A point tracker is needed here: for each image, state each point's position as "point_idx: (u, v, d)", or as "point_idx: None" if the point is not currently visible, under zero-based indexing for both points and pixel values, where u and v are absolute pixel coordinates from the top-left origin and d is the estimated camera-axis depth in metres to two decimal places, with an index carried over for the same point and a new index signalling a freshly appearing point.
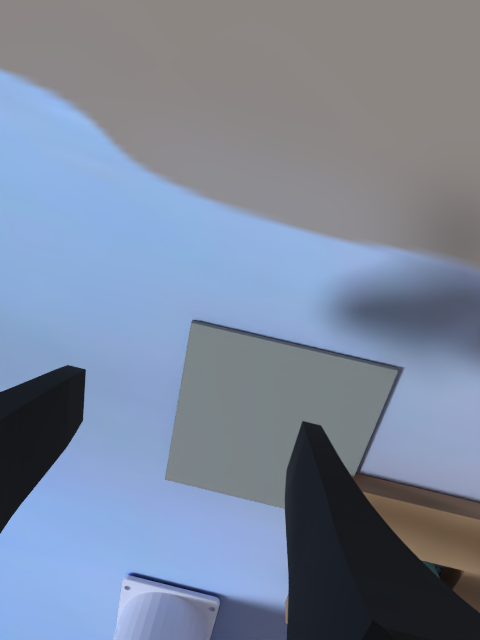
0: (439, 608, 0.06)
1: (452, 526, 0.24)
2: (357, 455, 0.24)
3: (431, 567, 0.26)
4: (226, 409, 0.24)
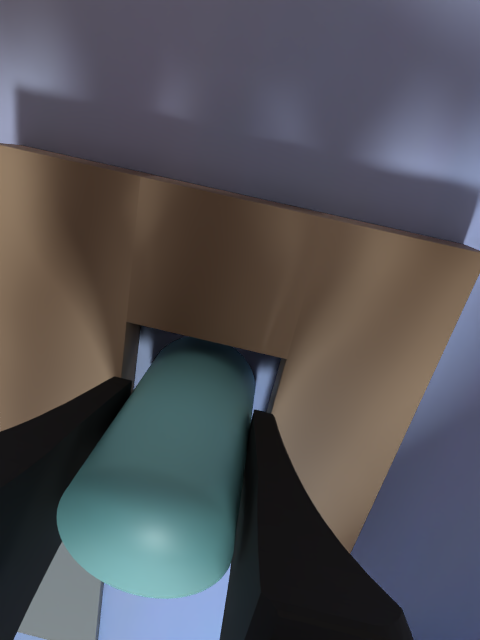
0: (340, 584, 0.06)
1: (24, 358, 0.13)
2: None
3: (147, 370, 0.13)
4: None
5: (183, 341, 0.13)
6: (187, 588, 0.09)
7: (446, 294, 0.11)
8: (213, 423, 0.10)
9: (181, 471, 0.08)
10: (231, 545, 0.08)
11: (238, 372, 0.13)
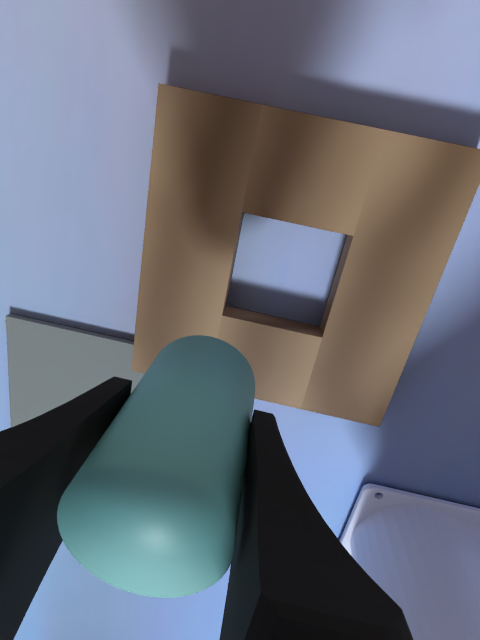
0: (340, 584, 0.06)
1: (163, 244, 0.18)
2: (110, 344, 0.22)
3: (148, 369, 0.13)
4: None
5: (184, 340, 0.13)
6: (188, 587, 0.09)
7: (464, 181, 0.16)
8: (214, 422, 0.10)
9: (181, 470, 0.08)
10: (232, 544, 0.08)
11: (239, 371, 0.13)
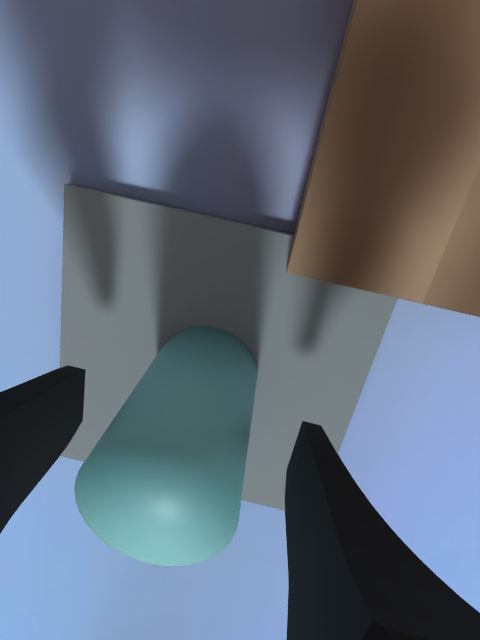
0: (439, 609, 0.06)
1: None
2: (242, 234, 0.13)
3: (156, 357, 0.14)
4: None
5: (190, 330, 0.14)
6: (194, 556, 0.10)
7: None
8: (220, 405, 0.10)
9: (192, 445, 0.09)
10: (236, 515, 0.09)
11: (242, 360, 0.13)
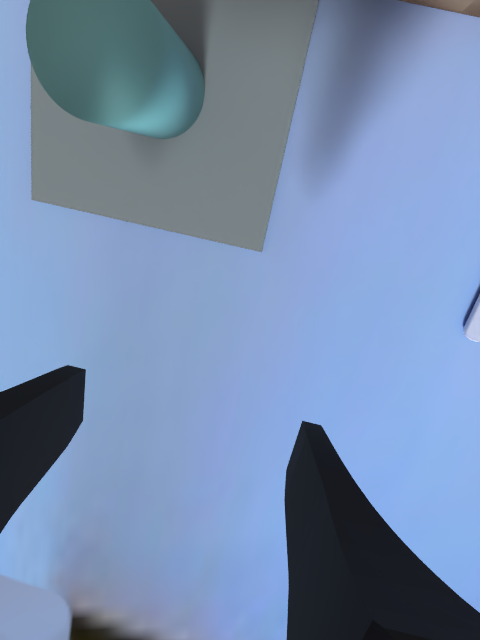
0: (440, 609, 0.06)
1: None
2: None
3: None
4: (136, 157, 0.18)
5: None
6: (127, 106, 0.11)
7: None
8: None
9: None
10: (158, 43, 0.11)
11: (186, 46, 0.15)
